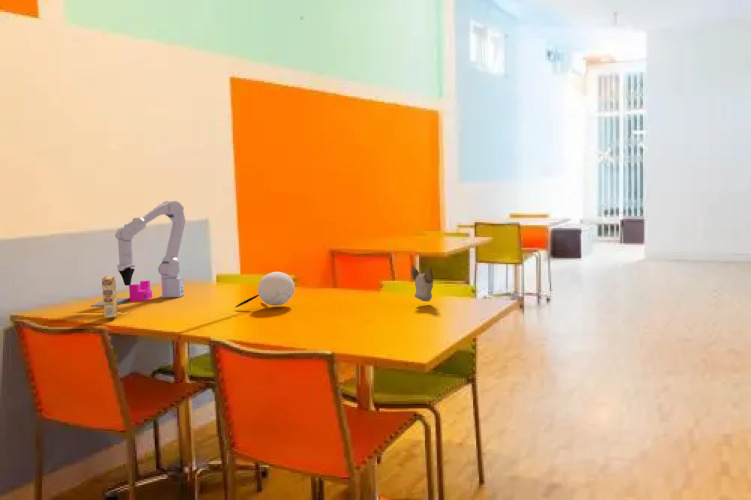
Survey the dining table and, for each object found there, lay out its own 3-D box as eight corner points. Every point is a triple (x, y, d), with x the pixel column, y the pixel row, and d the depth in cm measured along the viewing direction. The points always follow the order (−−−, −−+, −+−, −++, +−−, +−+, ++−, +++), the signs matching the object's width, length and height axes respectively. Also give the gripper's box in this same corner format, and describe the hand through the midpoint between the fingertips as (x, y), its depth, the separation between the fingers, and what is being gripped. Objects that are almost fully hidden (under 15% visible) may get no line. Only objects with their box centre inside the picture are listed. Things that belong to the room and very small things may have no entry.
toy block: (143, 301, 320) (142, 284, 319) (130, 301, 320) (129, 285, 319) (155, 296, 335) (155, 280, 334) (142, 296, 335) (141, 280, 334)
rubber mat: (134, 298, 328) (134, 296, 328) (116, 305, 308) (116, 303, 308) (110, 299, 328) (110, 297, 328) (90, 306, 309) (90, 304, 309)
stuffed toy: (311, 290, 297) (269, 316, 308) (296, 261, 299) (255, 288, 310) (284, 297, 280) (242, 324, 292) (269, 266, 282) (227, 295, 294)
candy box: (115, 317, 279) (112, 278, 278) (104, 318, 278) (101, 278, 277) (118, 313, 287) (115, 275, 286) (107, 314, 286) (104, 276, 285)
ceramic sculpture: (442, 301, 289) (441, 265, 288) (428, 304, 283) (427, 267, 282) (421, 299, 297) (420, 263, 295) (408, 302, 290) (407, 265, 289)
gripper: (123, 253, 323) (125, 283, 325) (109, 256, 309) (111, 287, 310) (138, 253, 323) (140, 282, 324) (125, 256, 309) (127, 287, 310)
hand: (127, 285), depth 317 cm, fingers closed
